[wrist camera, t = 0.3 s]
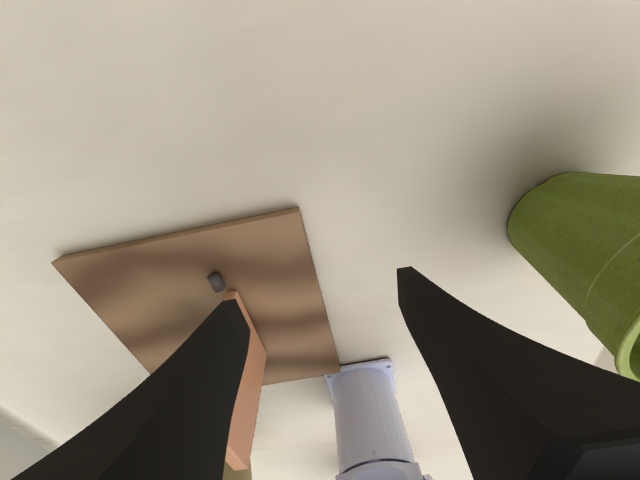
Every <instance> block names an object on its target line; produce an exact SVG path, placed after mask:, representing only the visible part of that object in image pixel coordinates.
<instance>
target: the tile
mask: <svg viewBox="0 0 640 480" xmlns="http://www.w3.org/2000/svg"><path fill="white" fill-rule="evenodd" d="M230 299H236V300H237V303H238V305H239V307H240V309H241V311H242V313H243V315H244V317H245V319H246V321H247V324H248V326H249V328H250V330H251V332H250V341H249V349H248V354H247V359H246V363H245V367H244V371H243V375H242V378H241V382H240V386H239V390H238V394H237V398H236V402H235V405H234V410H233V414H232V419H231V425H230V431H229V437H228V443H227V450H226V457H225V461H226V462H227V463H228V464H229V465H230V466H231V468H232V469H233V470H234V471H236V470H243V469H248V467H249V461H250V454H251V448H252V442H253V436H254V430H255V424H256V418H257V412H258V406H259V400H260V394H261V387H262V381H263V375H264V369H265V363H266V357H267V353H266V351H265V349H264V347H263V345H262V343H261V340H260V338H259V336H258V334H257V332H256V330H255V328H254V326H253V324H252V322H251V320H250V317H249V315H248V313H247V311H246V309H245V307H244V305H243V303H242V301H241V299H240V296H239V294H238V292H237V291H231V292H226V293H225V295H224V296H223V298H222V301H225V300H230ZM222 301H221V302H222Z"/></svg>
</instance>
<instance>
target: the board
mask: <svg viewBox="0 0 640 480" xmlns="http://www.w3.org/2000/svg"><path fill="white" fill-rule="evenodd" d="M51 264H52V265H53V266H54V267H55V268H56V269H57V270H58V272H59V273H60V274H61V275H62V276H63V277H64V278H65V279H66V281H67V282H68V283H69V284H70V285H71V286H72V287H73V288H74V289H75V291H76V292H77V293H78V294H79V295H80V296H81V297H82V298H83V299H84V301H85V302H86V303H87V304H88V305H89V306H90V307H91V308H92V310H93V311H94V312H95V313H96V314H97V315H98V316H99V317H100V318H101V320H102V321H103V322H104V323H105V324H106V325H107V326H108V327H109V329H110V330H111V331H112V332H113V333H114V334H115V335H116V336H117V337H118V339H119V340H120V341H121V342H122V343H123V344H124V345H125V346H126V347H127V349H128V350H129V351H130V352H131V353H132V354H133V355H134V356H135V358H136V359H137V360H138V361H139V362H140V363H141V364H142V365H143V366H144V368H145V369H146V370H147V371H148V372H149V373H150V374H152V373H153V372H154V371H155V370H157V369H158V368H159V367H160V366H161V365H162V364H163V363H164V362H165V361H166V360H167V359H168V358H169V357H170V356H171V355H172V354H173V353H174V352H175V351H176V350H177V349H178V348H179V347H180V346H181V345H182V344H183V343H184V342H185V341H186V340H187V339H188V337H189V336H190V335H191V334H192V333H193V332H194V331H195V330H196V329H197V328H198V327H199V326H200V324H201V323H202V322H203V321H204V320H205V319H206V318H207V317H208V316H209V315H210V313H211V312H212V311H213V310H214V309H215V308H216V307H217V306H218V305H219V304H220V303H221V301H222V298H223V296H224V295H225V293H226V292H231V291H237V292H238V294H239V296H240V299H241V301H242V303H243V305H244V307H245V309H246V311H247V313H248V315H249V317H250V320H251V322H252V324H253V326H254V328H255V330H256V332H257V334H258V336H259V338H260V340H261V343H262V345H263V347H264V349H265V351H266V353H267V357H266V363H265V369H264V375H263V381H262V386H263V385H269V384H275V383H281V382H287V381H293V380H299V379H305V378H311V377H318V376H324V375H330V374H336V373H341V371H340V364H339V360H338V356H337V352H336V348H335V345H334V341H333V337H332V333H331V329H330V325H329V321H328V317H327V314H326V310H325V306H324V302H323V298H322V294H321V290H320V286H319V283H318V279H317V275H316V271H315V267H314V263H313V259H312V256H311V252H310V248H309V244H308V240H307V236H306V232H305V228H304V225H303V221H302V217H301V213H300V209H299V207H297V208H292V209H287V210H282V211H278V212H273V213H268V214H263V215H258V216H253V217H248V218H244V219H239V220H234V221H229V222H224V223H219V224H215V225H210V226H205V227H200V228H195V229H190V230H185V231H181V232H176V233H171V234H166V235H161V236H156V237H151V238H147V239H142V240H137V241H132V242H127V243H122V244H117V245H113V246H108V247H103V248H98V249H93V250H88V251H83V252H79V253H74V254H69V255H64V256H61V257H59V258H58V259H56V260H54V261H53V262H51Z"/></svg>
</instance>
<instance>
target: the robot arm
mask: <svg viewBox="0 0 640 480" xmlns="http://www.w3.org/2000/svg"><path fill="white" fill-rule="evenodd" d="M397 284H398V302H399V307H400V309H401V312H402V315H403V317H404V320H405V323H406V325H407V327H408V329H409V331H410V333H411V335H412V337H413V339H414V341H415V343H416V345H417V347H418V349H419V351H420V353H421V355H422V357H423V359H424V361H425V362H426V364H427V366H428V368H429V370H430V372H431V374H432V376H433V378H434V380H435V383H436V385H437V387H438V389H439V392H440V394H441V397H442V399H443V401H444V404H445V406H446V409H447V411H448V414H449V416H450V419H451V421H452V424H453V426H454V429H455V431H456V434H457V437H458V439H459V442H460V444H461V447H462V450H463V452H464V455H465V457H466V460H467V463H468V465H469V468H470V471H471V473H472V476H473V479H474V480H640V382H638V381H636V380H633V379H630V378H627V377H624V376H621V375H618V374H615V373H612V372H610V371H607V370H604V369H601V368H599V367H596V366H593V365H591V364H588V363H586V362H583V361H581V360H578V359H576V358H573V357H571V356H568V355H566V354H563V353H561V352H558V351H556V350H554V349H551V348H549V347H547V346H544V345H542V344H540V343H538V342H536V341H533V340H531V339H529V338H527V337H525V336H522V335H520V334H518V333H516V332H514V331H512V330H510V329H508V328H506V327H504V326H502V325H500V324H498V323H497V322H495V321H493V320H491V319H489V318H487V317H485V316H484V315H482V314H480V313H478V312H477V311H475V310H473V309H472V308H470V307H468V306H467V305H465V304H463V303H462V302H460V301H459V300H457V299H456V298H454V297H453V296H451V295H450V294H448V293H447V292H445V291H444V290H443V289H441V288H440V287H438V286H437V285H436V284H434V283H433V282H431V281H430V280H429V279H427V278H426V277H425V276H423V275H422V274H421V273H419V272H418V271H417V270H415V269H414V268H413V267H411V266H410V267H404V268H399V269H397ZM250 332H251V330H250V328H249V326H248V324H247V321H246V319H245V317H244V315H243V313H242V311H241V309H240V307H239V305H238V303H237V300H236V299H230V300H225V301H222V302H221V303H220V304H219V305H218V306H217V307H216V308H215V309H214V310H213V311H212V312H211V313H210V315H209V316H208V317H207V318H206V319H205V320H204V321H203V322H202V323H201V324H200V326H199V327H198V328H197V329H196V330H195V331H194V332H193V333H192V334H191V335H190V336H189V337H188V339H187V340H186V341H185V342H184V343H183V344H182V345H181V346H180V347H179V348H178V349H177V350H176V351H175V352H174V353H173V354H172V355H171V356H170V357H169V358H168V359H167V360H166V361H165V362H164V363H163V364H162V365H161V366H160V367H159V368H158V369H157V370H155V371H154V372H153V373H152V374H151V375H150V376H149V377H148V378H147V379H146V380H144V381H143V382H142V383H141V384H140V385H139V386H138V387H136V388H135V389H134V390H133V391H132V392H131V393H129V394H128V395H127V396H126V397H124V398H123V399H122V400H121V401H119V402H118V403H117V404H116V405H114V406H113V407H112V408H111V409H110V410H108V411H107V412H106V413H105V414H103V415H102V416H101V417H99V418H98V419H97V420H96V421H94V422H93V423H92V424H90V425H89V426H88V427H86V428H85V429H84V430H82V431H81V432H79V433H78V434H77V435H75V436H74V437H73V438H71V439H70V440H68V441H67V442H66V443H64V444H63V445H61V446H60V447H59V448H57V449H56V450H54V451H53V452H51V453H50V454H49V455H47V456H46V457H44V458H43V459H41V460H40V461H38V462H37V463H35V464H34V465H32V466H31V467H29V468H28V469H26V470H25V471H23V472H22V473H20V474H19V475H17V476H16V477H14V478H13V479H11V480H222V479H223V471H224V464H225V457H226V450H227V443H228V437H229V431H230V425H231V419H232V414H233V410H234V405H235V402H236V398H237V394H238V390H239V386H240V382H241V378H242V375H243V371H244V367H245V363H246V359H247V354H248V349H249V341H250ZM340 371H341V373H336V374H330V375H324V376H325V379H326V382H327V385H328V389H329V392H330V395H331V398H332V401H333V404H334V415H335V426H336V438H337V449H338V461H339V472H340V475H336V480H434V479H432V477H431V476H430V475H429V474H427V475H423V477H422V474H421V470H420V467H419V464H418V463H417V462H416V463H415V460H414V456H413V453H412V450H411V446H410V443H409V440H408V437H407V433H406V430H405V427H404V423H403V420H402V417H401V413H400V410H399V407H398V403H397V400H396V397H395V386H394V375H393V364H392V360H391V359H389V358H387V359H381V360H375V361H369V362H363V363H357V364H351V365H345V366H340Z"/></svg>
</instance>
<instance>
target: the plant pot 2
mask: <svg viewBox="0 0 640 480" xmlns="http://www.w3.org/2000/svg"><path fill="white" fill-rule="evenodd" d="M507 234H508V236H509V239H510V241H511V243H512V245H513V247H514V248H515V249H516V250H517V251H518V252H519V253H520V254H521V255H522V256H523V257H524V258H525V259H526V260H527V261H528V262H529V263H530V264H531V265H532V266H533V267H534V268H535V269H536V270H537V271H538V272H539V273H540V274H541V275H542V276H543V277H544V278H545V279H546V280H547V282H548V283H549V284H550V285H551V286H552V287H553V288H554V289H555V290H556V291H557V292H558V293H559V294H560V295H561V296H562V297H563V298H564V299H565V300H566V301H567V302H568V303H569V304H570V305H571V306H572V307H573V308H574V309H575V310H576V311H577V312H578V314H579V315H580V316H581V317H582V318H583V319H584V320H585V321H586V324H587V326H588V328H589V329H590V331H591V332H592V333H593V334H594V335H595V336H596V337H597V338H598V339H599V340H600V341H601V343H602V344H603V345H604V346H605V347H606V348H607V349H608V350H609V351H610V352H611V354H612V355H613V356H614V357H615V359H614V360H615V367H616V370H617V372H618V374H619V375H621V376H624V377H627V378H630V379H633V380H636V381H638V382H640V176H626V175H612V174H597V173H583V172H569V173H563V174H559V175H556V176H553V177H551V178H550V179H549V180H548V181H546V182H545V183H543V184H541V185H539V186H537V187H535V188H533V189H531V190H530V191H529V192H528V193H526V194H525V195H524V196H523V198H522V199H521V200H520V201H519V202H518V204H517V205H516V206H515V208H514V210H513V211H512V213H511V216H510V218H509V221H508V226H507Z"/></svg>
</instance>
